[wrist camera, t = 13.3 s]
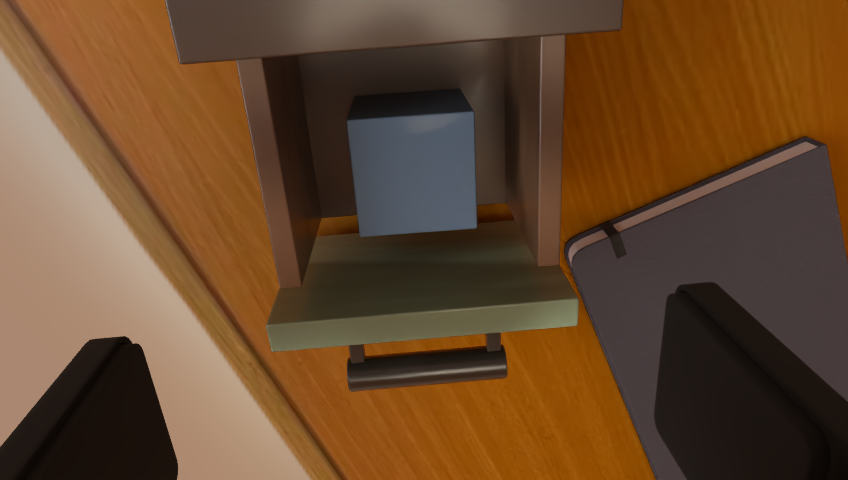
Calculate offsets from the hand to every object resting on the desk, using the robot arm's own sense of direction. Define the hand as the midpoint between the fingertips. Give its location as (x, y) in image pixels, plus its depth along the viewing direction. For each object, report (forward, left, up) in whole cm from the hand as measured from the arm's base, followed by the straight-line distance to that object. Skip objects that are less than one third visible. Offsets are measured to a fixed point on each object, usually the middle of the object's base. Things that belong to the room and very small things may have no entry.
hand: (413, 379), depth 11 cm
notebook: (+17, -14, -19) cm, 29 cm away
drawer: (0, -1, -18) cm, 18 cm away
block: (0, 0, -17) cm, 16 cm away
